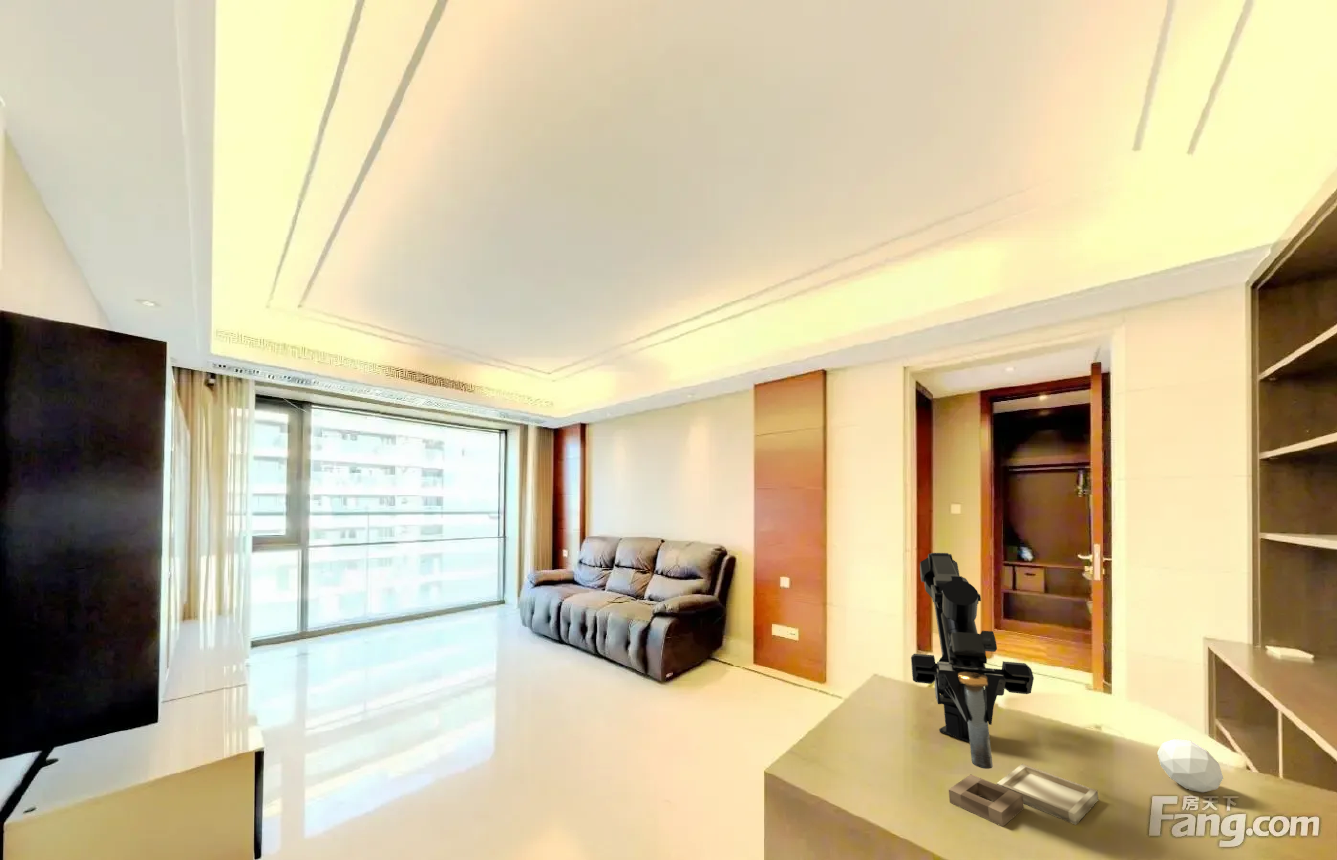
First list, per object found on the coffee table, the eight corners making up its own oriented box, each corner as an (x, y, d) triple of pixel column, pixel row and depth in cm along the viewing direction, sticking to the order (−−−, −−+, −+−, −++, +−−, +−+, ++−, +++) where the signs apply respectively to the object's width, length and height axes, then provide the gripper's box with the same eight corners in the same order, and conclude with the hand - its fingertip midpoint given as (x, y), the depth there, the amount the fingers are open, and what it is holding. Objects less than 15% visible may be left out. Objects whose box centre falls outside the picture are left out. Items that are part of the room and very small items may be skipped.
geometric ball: (1181, 798, 87) (1156, 747, 93) (1241, 798, 82) (1212, 743, 88) (1164, 787, 85) (1140, 734, 90) (1226, 785, 80) (1197, 730, 85)
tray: (1023, 772, 92) (1022, 763, 92) (1098, 800, 83) (1097, 790, 83) (997, 792, 85) (996, 783, 86) (1076, 825, 76) (1074, 814, 77)
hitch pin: (974, 755, 86) (965, 670, 88) (1002, 765, 82) (992, 676, 85) (962, 763, 83) (953, 675, 86) (990, 774, 80) (980, 682, 82)
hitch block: (972, 786, 87) (970, 774, 88) (1023, 808, 81) (1022, 795, 81) (949, 802, 83) (948, 789, 83) (1003, 826, 76) (1001, 812, 77)
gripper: (906, 609, 94) (916, 690, 82) (1023, 615, 87) (1052, 706, 75) (908, 642, 100) (917, 722, 88) (1017, 650, 93) (1043, 739, 81)
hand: (978, 722), depth 83 cm, fingers closed on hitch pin, 3 cm apart
